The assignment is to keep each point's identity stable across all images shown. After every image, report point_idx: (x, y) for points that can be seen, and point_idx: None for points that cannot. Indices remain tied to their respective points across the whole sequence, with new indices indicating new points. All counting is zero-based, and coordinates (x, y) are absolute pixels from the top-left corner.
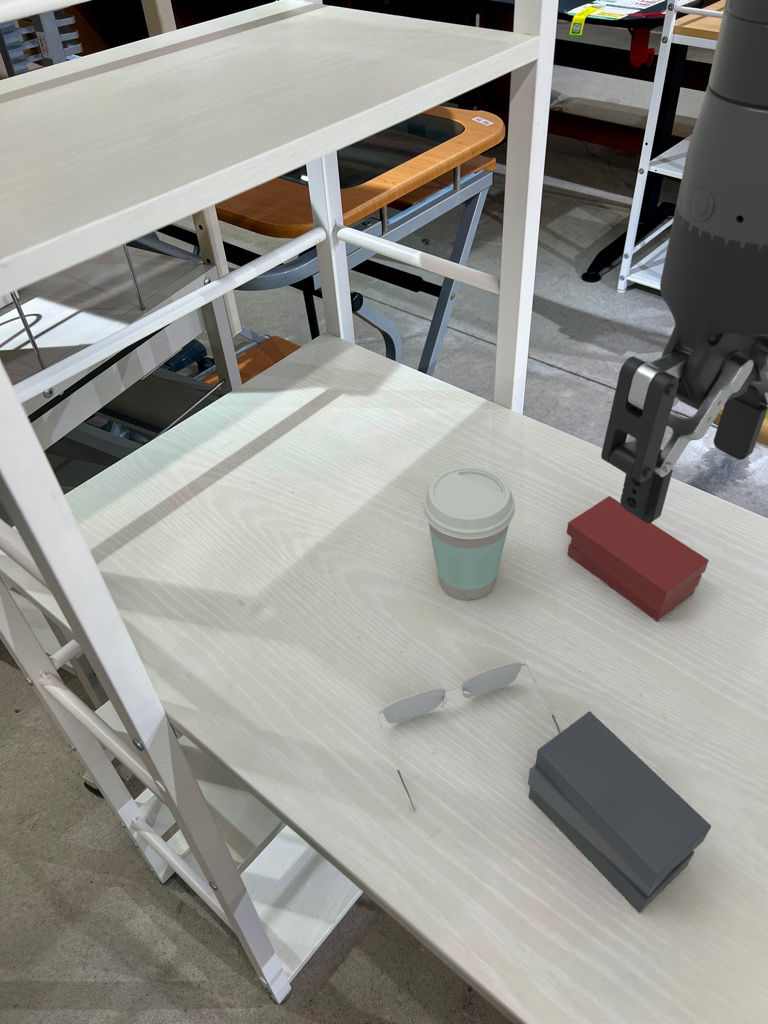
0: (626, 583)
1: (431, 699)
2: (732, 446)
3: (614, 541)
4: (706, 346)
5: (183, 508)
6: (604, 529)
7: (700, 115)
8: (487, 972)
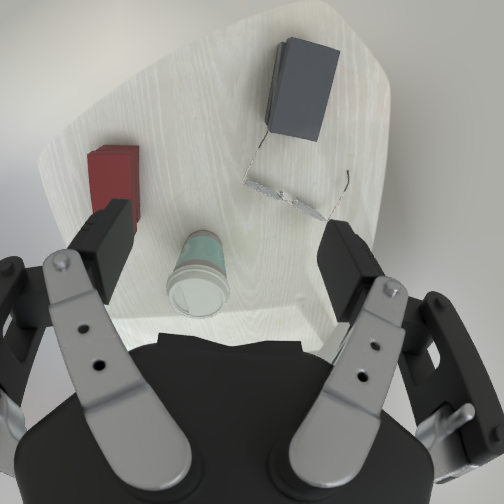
0: (135, 178)
1: (299, 206)
2: (128, 224)
3: None
4: None
5: None
6: None
7: None
8: (386, 100)
